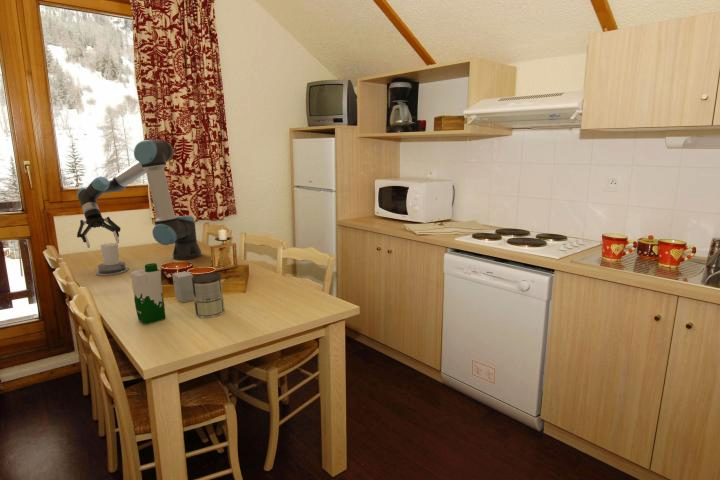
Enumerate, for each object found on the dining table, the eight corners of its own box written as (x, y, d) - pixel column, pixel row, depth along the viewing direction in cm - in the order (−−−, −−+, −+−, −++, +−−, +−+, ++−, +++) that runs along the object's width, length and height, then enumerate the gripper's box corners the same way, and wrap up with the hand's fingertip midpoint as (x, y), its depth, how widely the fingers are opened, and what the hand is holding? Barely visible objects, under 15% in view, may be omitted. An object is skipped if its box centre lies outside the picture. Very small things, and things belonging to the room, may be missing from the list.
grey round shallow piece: (133, 266, 237) (132, 259, 236) (121, 275, 222) (120, 267, 222) (104, 268, 236) (102, 261, 235) (89, 276, 221) (88, 268, 220)
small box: (196, 299, 183) (193, 274, 181) (182, 303, 180) (179, 277, 177) (188, 295, 189) (185, 270, 187) (175, 298, 186) (172, 273, 183)
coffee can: (190, 314, 167) (185, 277, 164) (214, 306, 175) (210, 271, 172) (205, 320, 161) (201, 282, 158) (230, 311, 169) (226, 275, 166)
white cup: (124, 261, 232) (121, 242, 230) (114, 265, 224) (111, 246, 222) (109, 261, 233) (106, 242, 231) (99, 266, 225) (96, 246, 223)
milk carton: (169, 318, 164) (162, 265, 159) (143, 326, 157) (135, 271, 153) (159, 313, 170) (152, 261, 165) (134, 320, 164) (126, 266, 159)
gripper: (116, 214, 252) (128, 244, 245) (64, 220, 236) (75, 252, 228) (118, 205, 247) (130, 236, 240) (65, 211, 231) (76, 244, 223)
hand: (103, 244), depth 234 cm, fingers open, 13 cm apart
